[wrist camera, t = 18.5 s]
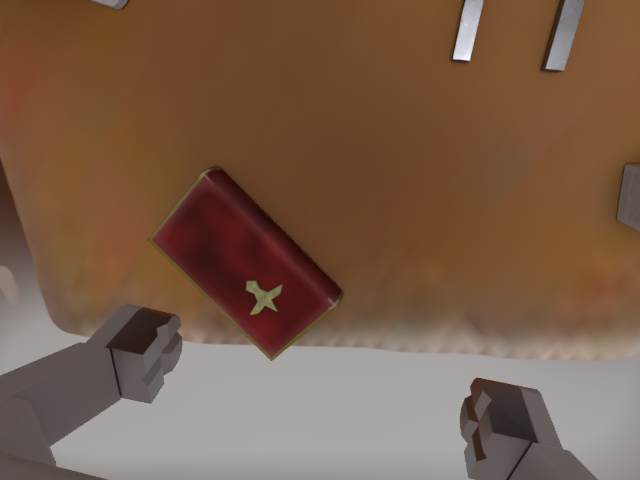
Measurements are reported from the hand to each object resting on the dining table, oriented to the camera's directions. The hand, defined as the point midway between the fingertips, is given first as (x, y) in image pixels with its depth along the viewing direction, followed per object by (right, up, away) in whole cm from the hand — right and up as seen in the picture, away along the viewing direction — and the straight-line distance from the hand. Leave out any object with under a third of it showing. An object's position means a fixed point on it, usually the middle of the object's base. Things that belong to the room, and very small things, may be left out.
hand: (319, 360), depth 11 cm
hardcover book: (-8, +1, +38) cm, 39 cm away
